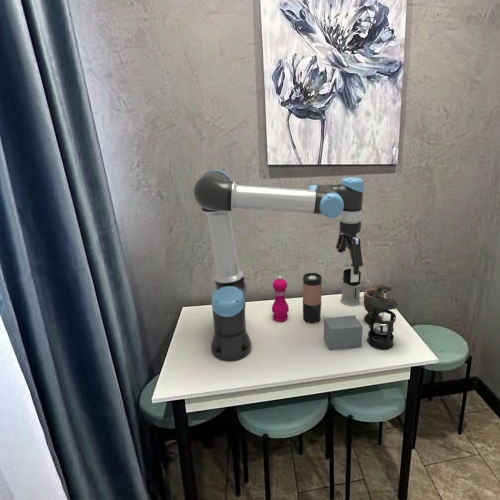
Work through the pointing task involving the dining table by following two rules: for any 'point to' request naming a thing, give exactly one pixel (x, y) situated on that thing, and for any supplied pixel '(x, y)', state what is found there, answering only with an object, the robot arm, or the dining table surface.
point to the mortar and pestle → (370, 295)
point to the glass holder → (351, 289)
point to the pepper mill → (280, 300)
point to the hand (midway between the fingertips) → (347, 274)
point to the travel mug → (312, 297)
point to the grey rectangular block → (343, 332)
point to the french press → (381, 321)
